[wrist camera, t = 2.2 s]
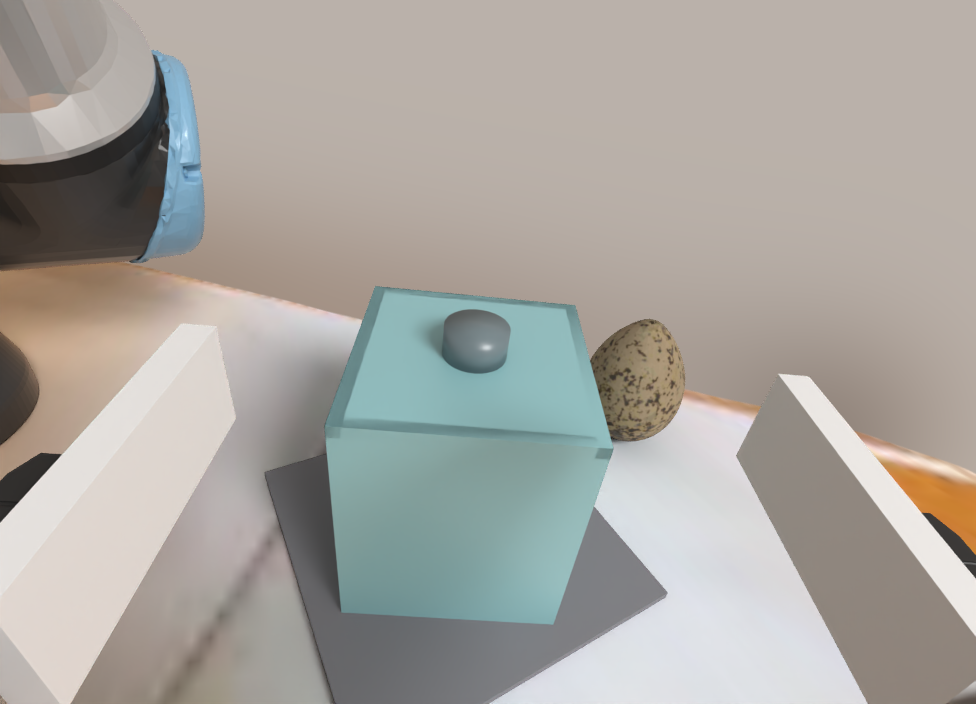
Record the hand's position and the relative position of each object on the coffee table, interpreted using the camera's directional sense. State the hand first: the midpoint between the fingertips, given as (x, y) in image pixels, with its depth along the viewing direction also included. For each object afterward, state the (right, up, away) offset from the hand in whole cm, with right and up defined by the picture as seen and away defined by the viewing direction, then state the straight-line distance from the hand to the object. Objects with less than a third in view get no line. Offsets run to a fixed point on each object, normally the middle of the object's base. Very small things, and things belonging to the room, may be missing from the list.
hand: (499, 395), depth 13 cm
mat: (-2, -10, +19) cm, 22 cm away
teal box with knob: (-2, -10, +19) cm, 22 cm away
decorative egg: (+10, -5, +29) cm, 31 cm away
